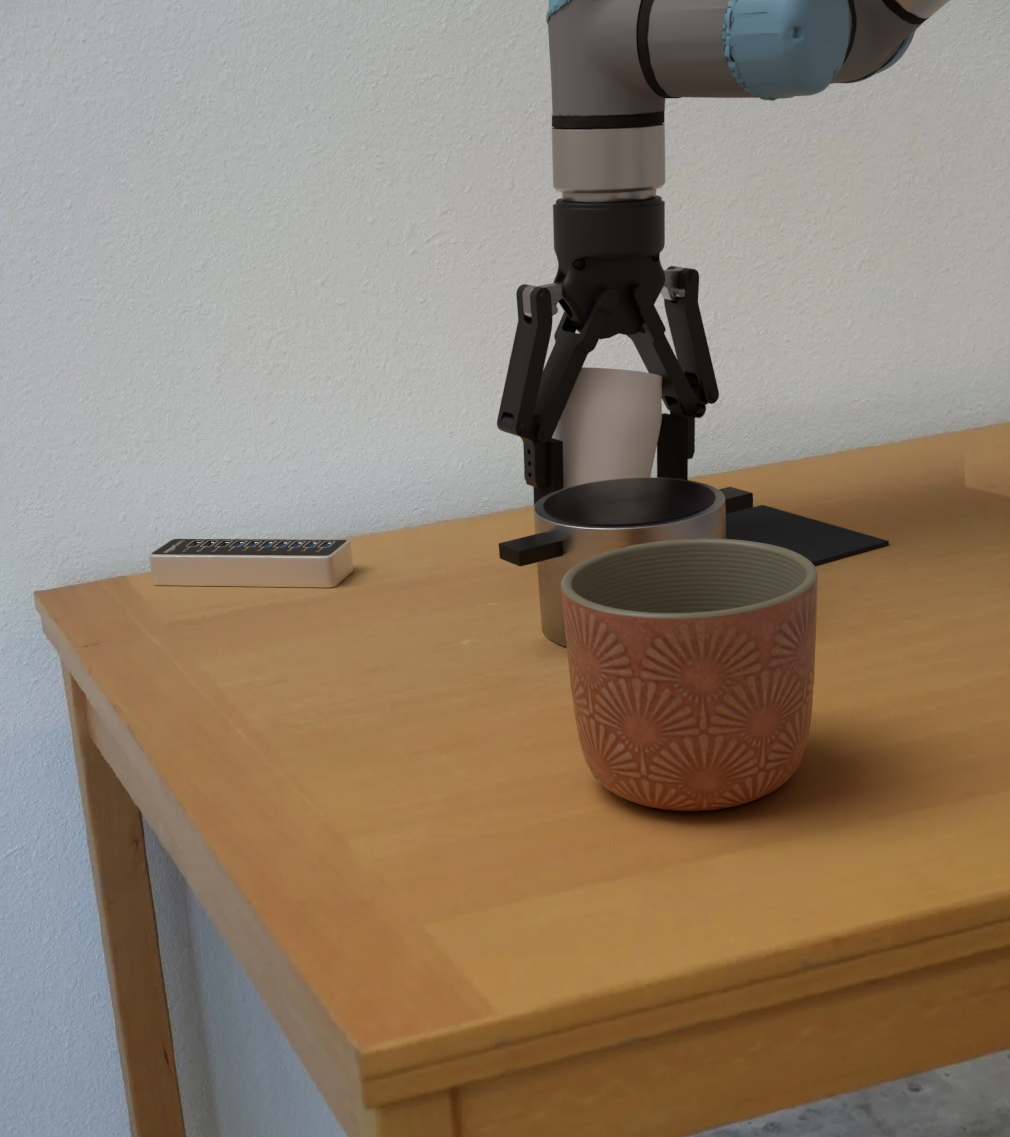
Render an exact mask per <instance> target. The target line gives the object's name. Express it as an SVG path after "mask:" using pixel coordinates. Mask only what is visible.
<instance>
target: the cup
mask: <svg viewBox="0 0 1010 1137" xmlns="http://www.w3.org/2000/svg"><path fill="white" fill-rule="evenodd" d="M543 370H544V369H543ZM662 402H663V400H662V377H661V376H659V375H656V374H652V373H649V372H646V371H639V370H630V369H621V368H608V367H607V368H605V367H585V366H582V369H581V371H580V373H579V376H578V378H577V380H576V383H575V385H574V387H573V390H572V392H571V394H570V397H569V399H568V401H567V404H566V406H565V408H564V411H563V413H562V415H561V418H560V420H559V422H558V425H557V427H556V429H555V432H554V434H553V436H552V438H553V439H557V440H560V441H563V480H564V488H567V487H571V486H575V485H580V484H584V483H590V482H596V481H603V480H611V479H622V478H651V476H652V471H653V466H654V461H655V456H656V453H657V442H658V437H659V432H660V427H661V421H662V414H663V407H662V405H663V404H662Z"/></svg>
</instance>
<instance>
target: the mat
mask: <svg viewBox="0 0 1010 1137" xmlns="http://www.w3.org/2000/svg"><path fill="white" fill-rule="evenodd" d="M726 539H732V540H743V541H752V542H759V543H765V544H770V545H774V546H778V547H782V548H785V549H788V550H791V551H794V552H796V553H798V554H800V555H802V556H804V557H805V558H807V559H808V560H809V561H811V562H812V564H813V565H814V566H818V565H822V564H826V563H828V562H832V561H835V560H839V559H842V558H846V557H849V556H854V555H858V554H860V553H864V552H868V551H872V550H875V549H878V548H882V547H885V546H889V545H890V541H889V540H888V539H884V538H880V537H877V536H875V535H874V536H873V535H871V534H867V533H862V532H860V531H855V530H852V529H849V528H845V527H842V526H838V525H836V524H835V525H834V524H831V523H828V522H824V521H820V520H817V519H814V518H810V517H807V516H803V515H800V514H797V513H793V512H788V511H786V510H782V509H779V508H775V507H771V506H768V505H764V504H759V505H755V506H753V507H752V508H748V509H745V510H741V511H737V512H733V513H729V514H726Z"/></svg>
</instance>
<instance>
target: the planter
mask: <svg viewBox="0 0 1010 1137" xmlns="http://www.w3.org/2000/svg"><path fill="white" fill-rule="evenodd" d="M818 575H819V574H818V570H817V568H816V565H813V564H812V562H811V561H809V560H808V559H807V558H805V557H804V556H802V555H800V554H798V553H796V552H794V551H791V550H788V549H785V548H782V547H778V546H774V545H770V544H765V543H759V542H752V541H743V540H732V539H680V540H667V541H658V542H650V543H643V544H637V545H632V546H627V547H622V548H618V549H614V550H611V551H607V552H604V553H601V554H598V555H595V556H593V557H590V558H588V559H586V560H584V561H582V562H580V563H578V564H577V565H575V566H574V567H572V568H571V569H570V570H569V571H568V572H567V573H566V574H565V576H564V577H563V579H562V582H561V592H562V602H563V613H564V623H565V634H566V644H567V647H566V654H567V662H568V663H567V664H568V672H569V682H570V690H571V698H572V705H573V715H574V720H575V725H576V731H577V736H578V740H579V744H580V748H581V752H582V755H583V759H584V760H585V763H586V766H587V767H588V769H589V771H590V772H591V775H592V776H593V777H594V778H595V779H596V780H597V781H598V782H599V784H601V785H602V786H603V788H605V789H606V790H608V791H609V792H611V793H613V794H614V795H616V796H618V797H620V798H622V799H624V800H626V801H629V802H632V803H633V804H638V805H640V806H644V807H648V808H653V809H659V810H666V811H676V812H677V811H680V812H701V811H714V810H721V809H727V808H732V807H736V806H741V805H744V804H748V803H751V802H754V801H755V800H758V799H760V798H763V797H764V796H767V795H769V794H771V793H772V792H775V791H776V790H777V789H779V788H780V787H781V786H783V785H784V784H785V783H786V782H787V781H788V780H790V779H791V778H792V776H793V775H794V773H795V772H796V771H797V769H798V768H799V767H800V765H801V762H802V760H803V758H804V755H805V752H806V748H807V744H808V740H809V735H810V728H811V722H812V721H811V720H812V712H813V701H814V685H815V669H816V668H815V667H816V642H817V638H816V636H817V611H818V610H817V609H818V608H817V607H818V580H819V578H818V577H819V576H818Z"/></svg>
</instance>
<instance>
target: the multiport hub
mask: <svg viewBox="0 0 1010 1137" xmlns="http://www.w3.org/2000/svg"><path fill="white" fill-rule="evenodd" d="M352 553H353V552H352V546H351V540H349V539H332V538H331V539H328V538H327V539H325V538H323V539H322V538H321V539H320V538H319V539H318V538H317V539H315V538H314V539H313V538H310V539H308V538H307V539H306V538H305V539H303V538H300V539H299V538H293V539H292V538H284V539H283V538H172V539H170V540H169V541H167V542H166V543H165V544H163V545H161V546H159V547H158V548H157V549H155V550H154V551H152V552H151V553H149V554H148V561H149V568H150V573H151V579H152V584H153V585H154V586H179V587H180V586H181V587H182V586H184V587H185V586H186V587H187V586H189V587H191V586H192V587H251V588H252V587H255V588H258V587H261V588H327V589H328V588H334V587H337V586H339V585H340V583H341V582H342V581H343V580H345V579H346V578H347V577H348V576H349V575H351V574H352V572H354V562H353V554H352Z"/></svg>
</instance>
